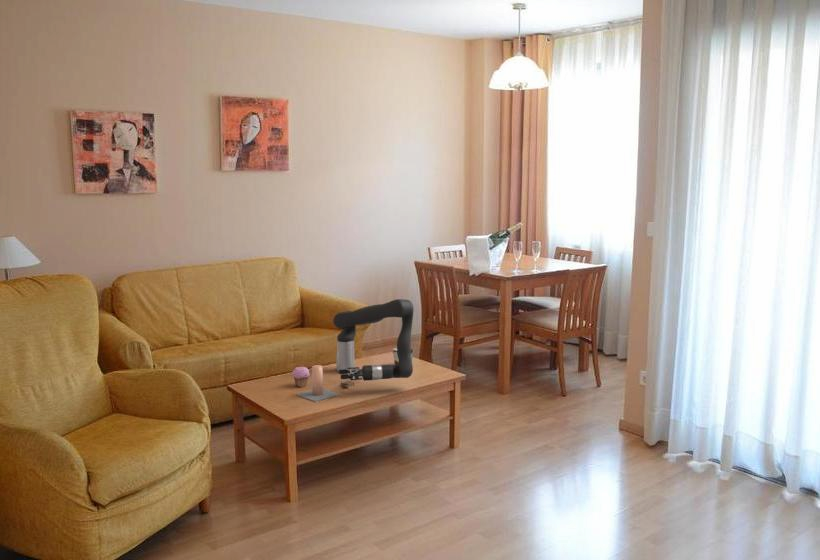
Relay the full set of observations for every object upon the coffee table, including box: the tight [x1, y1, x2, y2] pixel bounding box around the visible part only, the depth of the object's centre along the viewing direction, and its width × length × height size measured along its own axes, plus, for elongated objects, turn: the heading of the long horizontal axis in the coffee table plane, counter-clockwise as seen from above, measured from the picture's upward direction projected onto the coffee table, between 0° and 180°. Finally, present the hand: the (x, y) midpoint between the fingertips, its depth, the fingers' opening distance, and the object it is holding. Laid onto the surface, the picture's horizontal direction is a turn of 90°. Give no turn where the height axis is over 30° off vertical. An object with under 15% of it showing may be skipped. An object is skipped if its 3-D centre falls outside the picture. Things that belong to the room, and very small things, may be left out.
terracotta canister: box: [311, 364, 324, 396], centre depth 359 cm, size 5×5×14 cm
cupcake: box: [291, 366, 310, 388], centre depth 374 cm, size 9×9×10 cm
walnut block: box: [340, 379, 355, 389], centre depth 374 cm, size 5×5×2 cm
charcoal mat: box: [295, 388, 340, 403], centre depth 360 cm, size 15×15×1 cm
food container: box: [391, 347, 415, 365], centre depth 412 cm, size 12×6×10 cm, turn 84°
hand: (339, 374), depth 360 cm, fingers open, 8 cm apart
